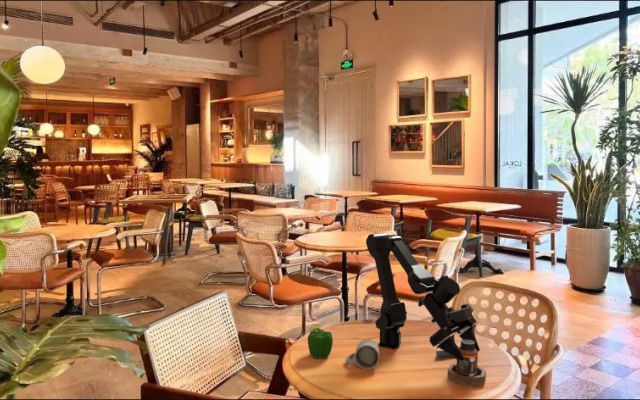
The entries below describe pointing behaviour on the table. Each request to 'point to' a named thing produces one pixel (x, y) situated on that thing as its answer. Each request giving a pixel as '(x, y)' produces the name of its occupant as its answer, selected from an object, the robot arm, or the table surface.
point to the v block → (443, 353)
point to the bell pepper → (320, 343)
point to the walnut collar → (466, 377)
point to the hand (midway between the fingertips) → (471, 355)
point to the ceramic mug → (365, 355)
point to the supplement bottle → (467, 359)
